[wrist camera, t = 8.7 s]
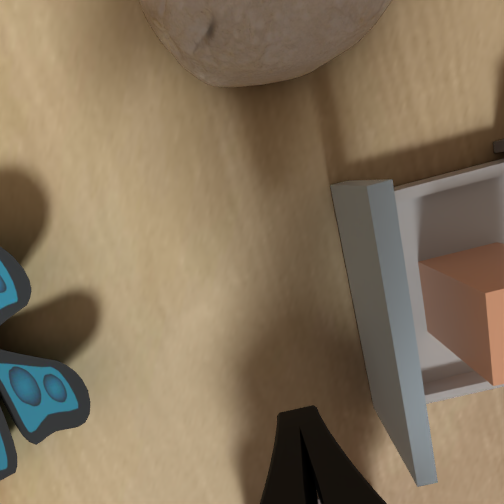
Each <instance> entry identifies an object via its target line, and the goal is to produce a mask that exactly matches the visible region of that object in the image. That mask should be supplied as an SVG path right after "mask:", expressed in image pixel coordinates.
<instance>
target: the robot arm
mask: <svg viewBox="0 0 504 504" xmlns="http://www.w3.org/2000/svg"><path fill="white" fill-rule="evenodd" d="M316 490H317V491H316ZM317 493H318V497H319V499H318V498H317ZM260 504H387V503H386V502H385V501H384V500H383V499H382V498H381V497H380V496H379V495H378V494H377V492H376V491H375V490H374V489H373V488H372V487H371V486H370V484H369V483H368V482H367V481H366V480H365V478H364V477H363V476H362V475H361V474H360V472H359V471H358V470H357V469H356V467H355V466H354V465H353V464H352V462H351V461H350V460H349V458H348V457H347V456H346V454H345V453H344V452H343V450H342V449H341V447H340V446H339V445H338V443H337V442H336V440H335V439H334V437H333V436H332V434H331V433H330V431H329V430H328V428H327V427H326V425H325V423H324V421H323V420H322V418H321V416H320V414H319V412H318V409H317V407H315V406H314V405H312V406H308V407H303V408H299V409H294V410H290V411H286V412H281V413H279V415H278V416H277V429H276V436H275V443H274V448H273V453H272V458H271V463H270V467H269V472H268V476H267V480H266V483H265V487H264V491H263V494H262V498H261V501H260Z"/></svg>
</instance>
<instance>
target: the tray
mask: <svg viewBox="0 0 504 504" xmlns="http://www.w3.org/2000/svg"><path fill="white" fill-rule="evenodd" d="M330 187H331V192H332V197H333V202H334V208H335V213H336V218H337V223H338V228H339V233H340V238H341V243H342V248H343V253H344V258H345V264H346V269H347V274H348V279H349V284H350V289H351V294H352V299H353V304H354V309H355V314H356V320H357V325H358V330H359V335H360V340H361V345H362V350H363V355H364V360H365V365H366V370H367V376H368V381H369V386H370V391H371V396H372V401H373V406H374V409H375V411H376V413H377V415H378V416H379V418H380V420H381V422H382V424H383V425H384V427H385V429H386V431H387V433H388V434H389V436H390V438H391V440H392V442H393V443H394V445H395V447H396V449H397V451H398V452H399V454H400V456H401V458H402V460H403V461H404V463H405V465H406V467H407V469H408V470H409V472H410V474H411V476H412V478H413V479H414V481H415V483H416V485H417V487H419V486H424V485H428V484H433V483H438V481H437V474H436V467H435V461H434V454H433V447H432V441H431V434H430V427H429V421H428V414H427V407H426V404H428V403H432V402H437V401H441V400H446V399H450V398H454V397H459V396H463V395H468V394H472V393H477V392H481V391H486V390H490V389H494V388H499V387H503V386H504V384H501V385H497V386H492V385H491V384H490V383H489V382H488V381H486V380H485V379H484V378H483V377H482V376H480V375H479V374H478V373H477V372H476V371H474V370H473V369H472V368H471V367H470V366H468V365H467V364H466V363H465V362H464V361H462V360H461V359H460V358H459V357H458V356H456V355H455V354H454V353H453V352H452V351H450V350H449V349H448V348H447V347H446V346H444V345H443V344H442V343H441V342H440V341H438V340H437V339H436V338H435V337H434V336H432V335H431V334H430V333H429V332H427V325H426V317H425V310H424V303H423V295H422V288H421V281H420V274H419V266H418V262H419V261H423V260H427V259H431V258H435V257H439V256H443V255H447V254H451V253H455V252H459V251H463V250H468V249H472V248H476V247H480V246H484V245H488V244H492V243H496V242H498V243H503V244H504V158H503V159H499V160H495V161H492V162H488V163H484V164H480V165H476V166H472V167H468V168H465V169H461V170H457V171H453V172H449V173H445V174H442V175H438V176H434V177H430V178H426V179H422V180H419V181H415V182H411V183H407V184H403V185H399V186H396V187H393V180H392V179H385V180H348V181H344V182H340V183H336V184H332V185H330Z"/></svg>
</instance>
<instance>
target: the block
mask: <svg viewBox="0 0 504 504" xmlns="http://www.w3.org/2000/svg"><path fill="white" fill-rule="evenodd" d="M418 266H419V274H420V281H421V288H422V295H423V303H424V310H425V317H426V325H427V332H429V333H430V334H431V335H432V336H434V337H435V338H436V339H437V340H438V341H440V342H441V343H442V344H443V345H444V346H446V347H447V348H448V349H449V350H450V351H452V352H453V353H454V354H455V355H456V356H458V357H459V358H460V359H461V360H462V361H464V362H465V363H466V364H467V365H468V366H470V367H471V368H472V369H473V370H474V371H476V372H477V373H478V374H479V375H480V376H482V377H483V378H484V379H485V380H486V381H488V382H489V383H490V384H491V385H492V386H497V385H501V384H504V244H503V243H498V242H496V243H492V244H488V245H484V246H480V247H476V248H472V249H468V250H463V251H459V252H455V253H451V254H447V255H443V256H439V257H435V258H431V259H427V260H423V261H419V262H418Z"/></svg>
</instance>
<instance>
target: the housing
mask: <svg viewBox="0 0 504 504" xmlns="http://www.w3.org/2000/svg"><path fill="white" fill-rule="evenodd" d="M493 143H494V153H497V152H504V139H502V140H498V141H494V142H493Z"/></svg>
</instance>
